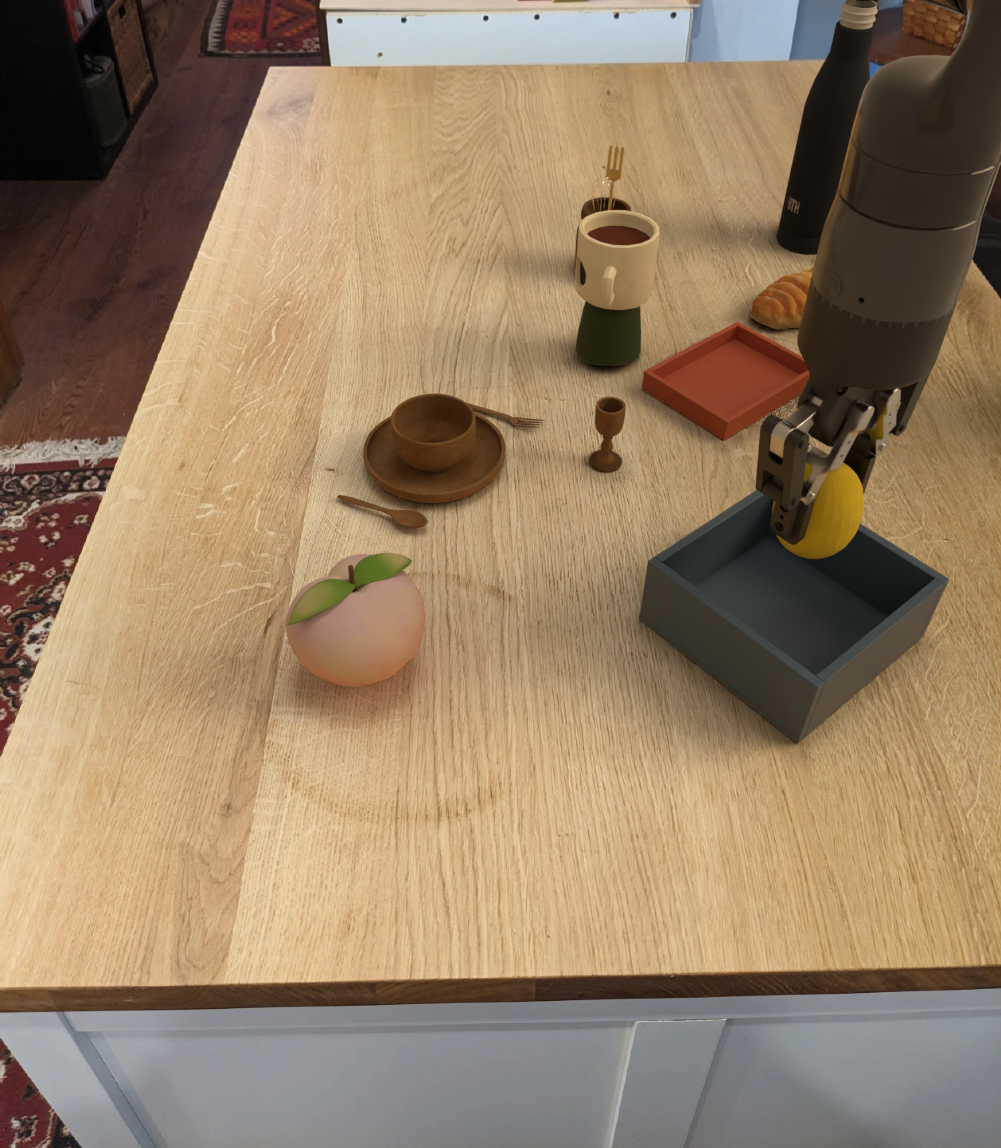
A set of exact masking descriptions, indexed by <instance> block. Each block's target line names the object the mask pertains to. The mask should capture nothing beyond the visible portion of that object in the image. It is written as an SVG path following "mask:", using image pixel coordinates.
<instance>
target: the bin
mask: <svg viewBox="0 0 1001 1148" xmlns="http://www.w3.org/2000/svg"><path fill="white" fill-rule="evenodd" d="M773 503H774V501H773V500H772V499H770V498H769V497H767V496H766V495H764V494H763V493H761V492H759V491H758V490H756V489H755V490H754V491H753V492H751V493H749V494H748V495H746V496H745V497H744V498H742V499H740V500H739V501H737V502H736V503H734V504H732V505H731V506H730V507H728V508H726V509H725V510H723V511H722V512H720V513H719V514H717V515H716V516H714V517H713V518H711V519H710V520H708V521H707V522H705V523H704V524H702V525H700V526H699V527H697V528H696V529H695V530H693V531H691V532H690V533H688V534H687V535H685V536H683V537H682V538H681V539H679V540H678V541H676V542H674V543H673V544H671V545H670V546H669V547H667V548H665V549H664V550H662V551H660V552H659V553H658V554H656V555H655V556H653V557H652V558H649V560H647V564H646V571H645V577H644V583H643V584H644V585H643V590H642V597H641V603H640V609H639V617H638V619H639V620H640V621H641V622H642V623H644V624H645V625H646V626H647V627H649V628H650V629H651V630H652V631H654V632H655V634H658V636H660V637H661V638H662V639H664V640H665V641H666V642H667V643H669V644H670V645H671V646H672V647H674V648H675V649H676V650H678V651H679V652H680V653H681V654H682V655H684V657H686V658H688V659H689V660H690V661H691V662H693V663H694V664H695V665H697V667H699V668H700V669H702V670H703V671H704V672H705V673H706V674H708V675H709V676H710V677H712V678H713V679H714V680H715V681H717V682H718V683H719V684H720V685H721V686H723V687H724V688H726V689H727V690H728V691H729V692H730V693H732V695H734V696H735V697H737V698H738V699H739V700H740V701H742V702H743V703H744V704H745V705H747V706H748V707H749V708H751V709H752V710H753V711H754V712H756V713H757V714H758V715H760V716H761V717H762V718H763V719H765V720H766V721H767V722H768V723H769V724H771V725H772V726H773V727H774V728H776V729H777V730H778V731H780V732H781V733H782V734H783V735H785V736H786V737H787V738H788V739H790V740H791V741H792V742H794V743H795V745H798V744H799V743H800V742H802V741H803V740H804V739H805V738H807V736H809V735H810V734H811V733H812V732H813V731H814V730H816V729H817V728H818V727H819V726H820V725H822V724H823V723H824V722H825V721H826V720H827V719H829V718H830V717H831V716H832V715H833V714H835V713H836V712H837V711H838V710H839V709H841V708H842V707H843V706H844V705H846V703H848V702H849V701H850V700H851V699H852V698H853V697H855V696H856V695H857V694H858V693H859V692H860V691H861V690H863V689H864V688H865V687H866V686H867V685H869V684H870V683H871V682H872V681H874V679H875V678H877V677H878V676H879V675H881V673H883V672H884V671H885V670H886V669H887V668H889V667H890V666H891V665H892V664H893V663H894V662H895V661H897V660H898V659H899V658H901V656H902V655H904V654H905V653H906V652H908V651H909V649H911V648H912V647H914V645H916V643H918V642H919V641H920V640H921V639H923V638H924V635H925V633H926V632H927V630H928V628H929V627H928V626H929V625H930V623H931V620H932V619H933V616H934V614H935V612H936V610H937V608H938V606H939V603H940V601H941V599H942V597H943V594H944V593H945V591H946V588H947V586H948V584H949V581H950V578H949V577H948V576H945V575H944V574H942V572H941V573H940V572H939V571H937V570H936V569H934V568H933V567H931V566H929V565H927V564H926V563H925V562H923V561H922V560H920V559H918V558H917V557H915V556H913V555H912V554H910V553H908V552H907V551H905V550H903V549H902V548H901V547H899V546H897V545H896V544H894V543H893V542H891V541H889V540H887V538H884V537H883V536H881V535H880V534H878V533H876V532H875V531H873V530H872V529H871V528H868V527H867V526H865V525H864V524H862V523H860V525H859V528H858V530H857V532H856V534H855V535H854V537H853V538H852V539H851V541H850V542H849V543H848V544H847V546H846V547H844V548H843V549H842V550H840V551H839V552H837V553H836V554H834V555H832V556H829V557H826V558H820V559H807V558H803V557H800V556H797V555H795V554H793V553H792V552H790V551H789V550H787V549H786V548H785V547H784V546H783V545H782V544H781V542H780V541H779V539H778V537H777V536H776V534H774V533H773V532H772V531H771V530H770V526H769V524H770V521H771V517H772V509H773Z"/></svg>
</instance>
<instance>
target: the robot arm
mask: <svg viewBox="0 0 1001 1148" xmlns="http://www.w3.org/2000/svg"><path fill="white" fill-rule="evenodd" d="M921 1H922V2H925V3H928V4H931V5H933V6H936V7H938V8H942V9H944V10H946V11H949V12H951V13H955V14H957V15H960V16H962V17H965V18H966V23H965V27H964V31H963V34H962V36H961V38H960V41H959V43H958V44H957V46H956V48H955V49H954V51H953V52H952V54H951V55H940V54H929V55H911V56H905V57H901V58H897V59H895V60H892V61H890V62H887V63H885V64H884V65H882V66H881V67H880V68H878V69H877V70H875V72H874V73H873V74H872V75H871V76H870V80H869V81H868V83H867V85H866V86H865V89H864V91H863V94H862V97H861V99H860V103H859V106H858V110H857V113H856V117H855V121H854V124H853V128H852V133H851V136H850V140H849V144H848V148H847V153H846V157H845V161H844V165H843V169H842V173H841V177H840V181H839V186H838V189H837V193H836V196H835V199H834V202H833V204H832V207H831V209H830V211H829V214H828V217H827V219H826V222H825V225H824V228H823V232H822V235H821V239H820V243H819V247H818V252H817V254H816V255H815V256H816V257H815V260H814V264H813V267H814V268H813V273H812V277H811V281H810V285H809V289H808V294H807V298H806V302H805V307H804V311H803V315H802V319H801V323H800V327H799V328H798V332H797V336H796V337H797V338H796V341H797V343H796V344H797V348H798V351H799V353H800V356H802V357H803V359H804V361H805V363H806V366H807V368H808V371H809V378H808V380H807V383H806V385H805V387H804V389H803V391H802V393H801V394H800V395H799V397H798V399H797V403H796V410H794V411H793V412H792V413H791V414H790V415H788V416H787V417H786V418H784V419H782V418H780V417H779V416H777V415H775V414H773V413H771V414H769V415H767V417H765V419H764V420H763V422H762V423H761V425H760V429H759V440H758V441H759V442H758V451H757V452H758V453H757V462H756V463H757V465H756V476H755V491H756V490H758V491H759V492H761V493H763V494H764V495H766V496H767V497H769V498H770V499H772V500H773V501H775V505H774V509H773V513H772V517H771V521H770V524H769V526H770V530H771V531H772V532H773V533H774V534H776V535H777V536H779V537H780V538H782V539H783V540H785V541H786V542H788V543H789V544H791V545H796V544H797V543H798V542H800V541H801V540H803V539H804V537H805V534H806V530H807V527H808V523H809V520H810V516H811V513H812V510H813V506H814V503H815V497H816V495H817V493H818V491H819V490H820V488H821V486H822V484H823V482H824V480H825V478H826V476H827V474H828V473H829V472H834V471H837V470H839V468H840V467H841V465H842V463H845V464H846V465H848V466H849V467H850V468H851V469H852V470H853V471H854V472H855V473H856V474H857V476H858V478H859V480H860V482H861V484H862V488H863V495H865V493H866V489H867V487H868V485H869V480H870V477H871V475H872V472H873V468H874V466H875V462H876V460H877V456H880V455H882V454H883V453H884V452H885V451H886V450H887V448H888V445H889V441H890V435H893V436H895V437H900V436H901V434H903V433H904V432H905V431H906V429H907V426H908V424H909V422H910V419H911V418H912V415H913V413H914V410H916V407H917V404H918V402H919V400H920V398H921V395H922V393H923V390H924V389H925V386H926V384H927V381H928V380H929V377H930V375H931V373H932V371H933V369H934V367H935V365H936V362H937V359H938V357H939V354H940V352H941V349H942V347H943V346H942V345H943V343H944V340H945V337H946V335H947V331H948V330H949V326H950V324H951V320H952V318H953V314H954V312H955V309H956V307H957V305H958V301H959V298H960V296H961V293H962V289H963V287H964V284H965V281H966V279H967V276H968V273H969V271H970V268H971V264H972V262H973V259H974V255H975V252H976V247H977V244H978V239H979V233H980V228H981V223H982V219H983V217H984V216H983V215H984V212H985V209H986V206H987V203H988V201H989V198H990V195H991V192H992V189H993V186H994V184H995V181H996V178H997V175H998V172H999V169H1000V166H1001V0H921ZM899 402H900V405H899V407H898V403H899ZM897 408H898V409H897ZM810 437H811V438H812V439H814V440H816V441H817V442H819V443H821V444H823V445H825V446H826V447H829V448H831V450H830V451H829V453H827V452H826V451H823V450H822V449H820V448H818V447H817V446H814V444H812V443H810ZM806 463H808V464H809V465H811V467H812V472H811V474H810V476H809V478H808V480H807V481H805V480H804V473H805V466H806Z"/></svg>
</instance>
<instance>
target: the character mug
mask: <svg viewBox="0 0 1001 1148" xmlns="http://www.w3.org/2000/svg"><path fill="white" fill-rule="evenodd" d="M580 221H581V220H580ZM580 221H579V223H580V224H579V223H578V225H579V231H578V245H577V258H576V268H575V277H574V287H575V291H576V293H577V294H578V296H580V298H581V299H582V300H583V301H585V302H584V305H583V308H582V312H581V317H580V321H579V324H578V330H577V334H576V341H575V347H574V351H575V353H576V355H577V358H579V359H580V360H581V361H583V362H584V363H586V364H588V365H595V366H602V367H603V366H607V367H608V366H609V367H619V366H624V365H629V364H632V363H634V362H635V361H636V360H638V359H639V358H640V355H641V351H642V315H641V314H642V313H641V312H642V311H641V306H642V305H645V304H647V303H648V301H649V300H650V298H651V297H652V296H653V291H654V284H655V276H656V268H657V259H658V252H659V245H660V244H659V243H660V226H659V224H657V222H655V220H654V219H652V217H649V216H646V215H645V214H642V213H640V212H636V211H632V210H631V211H626V210H608V211H602V212H596V213H594V214H591V215H589V216H586V217H585V218H584V219H583V220H582V221H581V222H580Z"/></svg>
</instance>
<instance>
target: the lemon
mask: <svg viewBox="0 0 1001 1148" xmlns="http://www.w3.org/2000/svg"><path fill="white" fill-rule="evenodd" d="M811 472H812V467H811V465H809V464H808V463H806V466H805V473H804V480H805V481H807V480H808V478H809V476H810V474H811ZM864 495H865V494H864ZM864 495H863V488H862V484H861V482H860V480H859V478H858V476H857V474H856V473H855V472H854V471H853V470H852V469H851V468H850V467H849V466H848V465H846V464H845V463H842V465H841V467H840V468H839V470H837V471H834V472H829V473H828V474H827V476H826V478H825V480H824V482H823V484H822V486H821V488H820V490H819V491H818V493H817V495H816V497H815V503H814V506H813V510H812V513H811V516H810V520H809V523H808V527H807V530H806V534H805V537H804V539H803V540H801V541H800V542H798V543H797V544H796V545H791V544H789V543H788V542H786V541H785V540H783V539H782V538H780V537H779V536H777V535H776V536H777V537H778V539H779V541H780V542H781V544H782V545H783V546H784V547H785V548H786V549H787V550H789V551H790V552H792V553H793V554H795V555H797V556H800V557H803V558H807V559H820V558H826V557H829V556H832V555H834V554H836V553H837V552H839V551H840V550H842V549H843V548H844V547H846V546H847V544H848V543H849V542H850V541H851V539H852V538H853V537H854V535H855V534H856V532H857V530H858V528H859V525H860V524H861V521H862V519H863V515H864V510H865V509H864V507H865V496H864ZM774 505H775V501H774V503H773V509H774ZM773 509H772V513H773Z"/></svg>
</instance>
